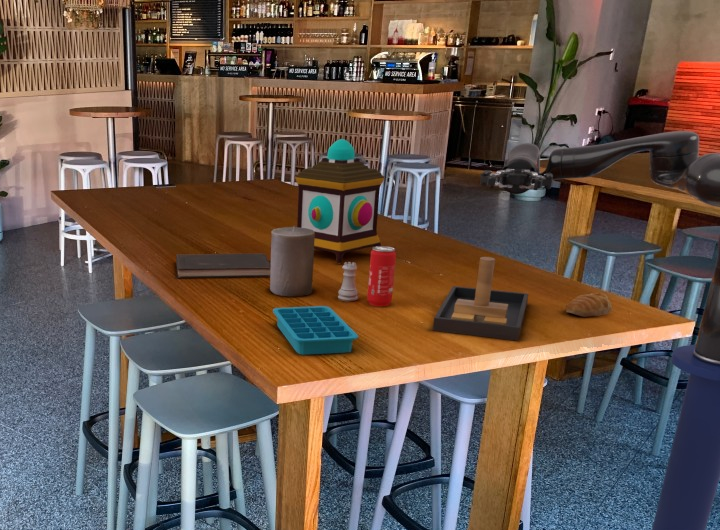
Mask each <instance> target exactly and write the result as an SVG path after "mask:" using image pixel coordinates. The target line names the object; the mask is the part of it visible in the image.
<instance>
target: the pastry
mask: <svg viewBox="0 0 720 530" xmlns="http://www.w3.org/2000/svg"><path fill="white" fill-rule="evenodd" d="M612 309H613V307H612V303H611V301H610V300H609V297H608V296H607V294H605V293H602V292H590V293H585V294H580V295H578V296H576V297H575V298H573V299H572V300H570V301H569V302H568V304H566V306H565V312H566V313H569V314H573V315H576V316H578V317H581V318H582V317H584V318H588V317H599V316H602V315H604V316H605V315H606V316H607V315H608V314H609V313H610V312H611V311H612Z"/></svg>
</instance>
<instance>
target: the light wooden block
mask: <svg viewBox="0 0 720 530" xmlns="http://www.w3.org/2000/svg"><path fill="white" fill-rule="evenodd" d="M474 317H475V315H471V314H462V313H453V315H452V317H451V319H459V320H467V321H474Z"/></svg>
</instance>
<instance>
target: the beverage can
mask: <svg viewBox="0 0 720 530" xmlns="http://www.w3.org/2000/svg"><path fill="white" fill-rule="evenodd" d="M371 248H372V250H371V251H370V257H369V258H370V261H369V272H368V285H367V297H366V298H367V302H368V305H370V306H373V307H378V308H384V307H388V306H390V304H391V302H392V300H393V293H394V281H395V271H396V270H395V269H396V258H397V252H396V248H394V247H392V246H387V245H385V246H384V245H383V246H382V245H381V246H378V247H371Z"/></svg>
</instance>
